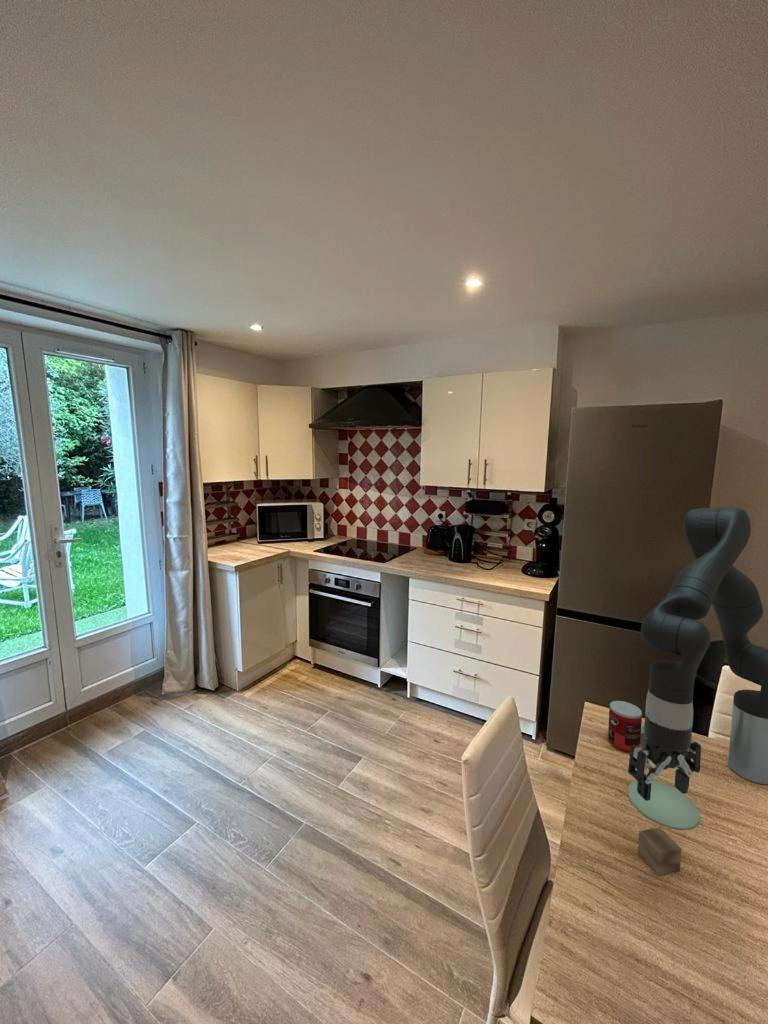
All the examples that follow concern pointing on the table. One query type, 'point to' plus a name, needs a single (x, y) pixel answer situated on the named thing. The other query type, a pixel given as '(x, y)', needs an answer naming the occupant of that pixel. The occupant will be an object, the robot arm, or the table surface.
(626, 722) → the canned food
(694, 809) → the sage mat
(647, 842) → the walnut block
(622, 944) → the table surface
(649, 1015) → the table surface
